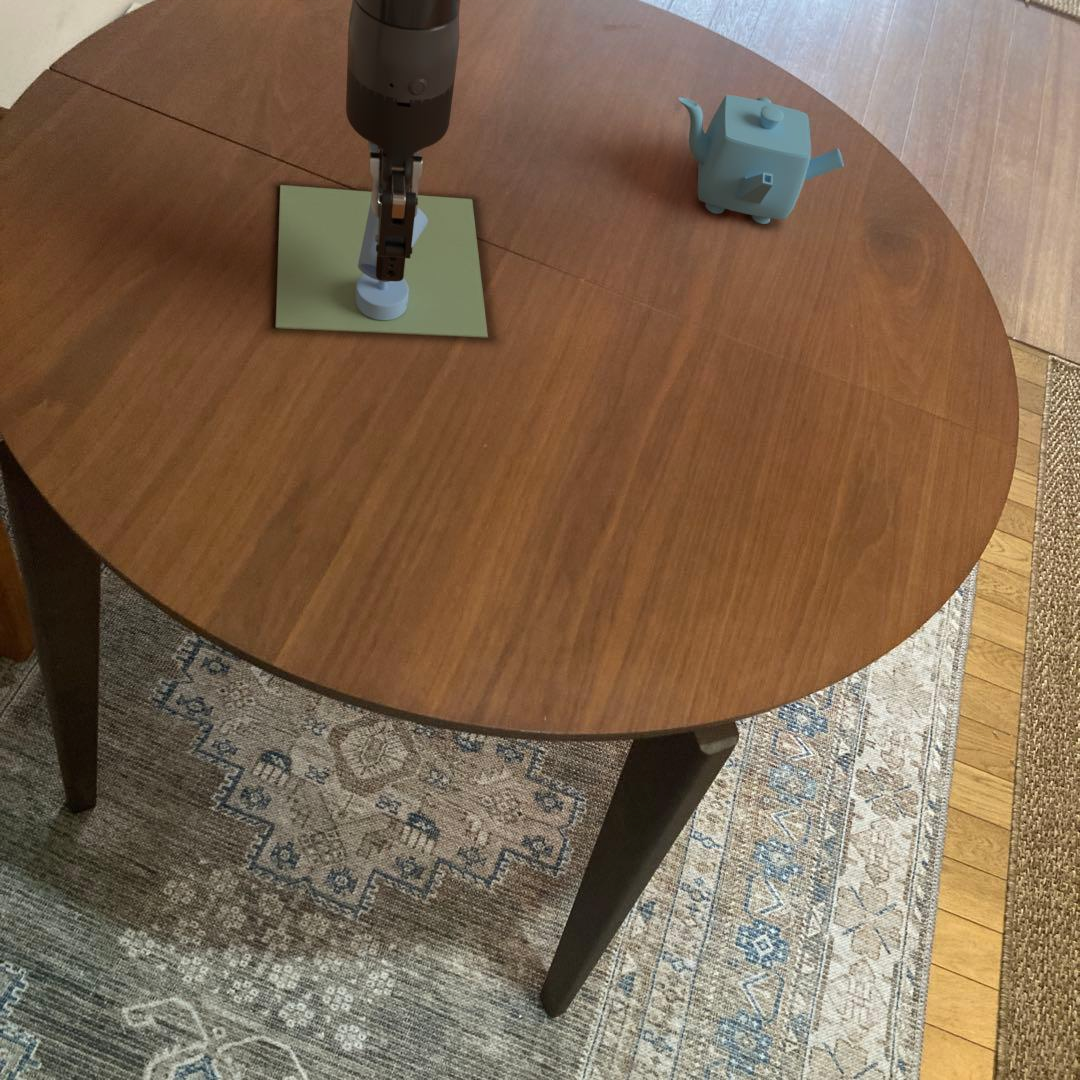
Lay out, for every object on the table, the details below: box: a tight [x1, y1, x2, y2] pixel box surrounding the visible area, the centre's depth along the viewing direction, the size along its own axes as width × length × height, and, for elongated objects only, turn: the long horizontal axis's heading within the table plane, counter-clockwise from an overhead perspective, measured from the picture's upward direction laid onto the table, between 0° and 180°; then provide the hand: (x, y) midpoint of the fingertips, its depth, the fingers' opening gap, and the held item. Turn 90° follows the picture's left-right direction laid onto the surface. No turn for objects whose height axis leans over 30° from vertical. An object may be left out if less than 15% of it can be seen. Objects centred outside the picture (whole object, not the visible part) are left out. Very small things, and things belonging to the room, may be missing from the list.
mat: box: [275, 184, 489, 339], centre depth 94 cm, size 18×18×1 cm
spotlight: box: [355, 193, 428, 320], centre depth 87 cm, size 5×10×7 cm
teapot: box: [678, 94, 845, 225], centre depth 104 cm, size 18×14×10 cm
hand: (387, 245), depth 86 cm, fingers closed on spotlight, 7 cm apart
